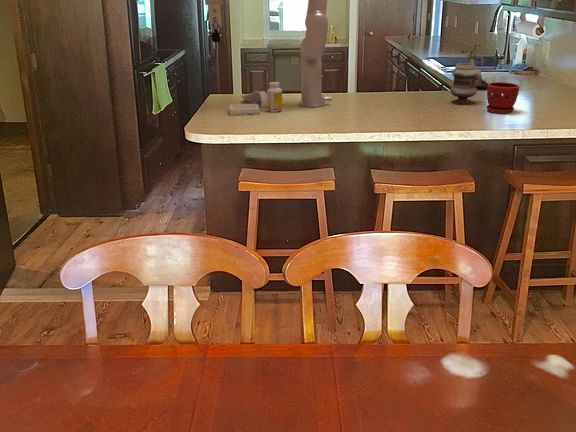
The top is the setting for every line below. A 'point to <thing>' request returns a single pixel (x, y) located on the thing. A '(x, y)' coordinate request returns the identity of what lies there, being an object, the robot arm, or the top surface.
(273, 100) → the supplement bottle
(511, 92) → the plant pot
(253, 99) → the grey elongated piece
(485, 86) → the potted plant
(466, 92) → the apothecary jar
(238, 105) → the ceramic tray
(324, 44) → the robot arm
